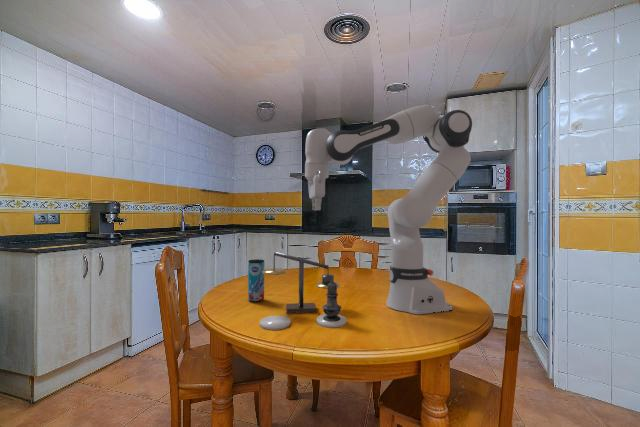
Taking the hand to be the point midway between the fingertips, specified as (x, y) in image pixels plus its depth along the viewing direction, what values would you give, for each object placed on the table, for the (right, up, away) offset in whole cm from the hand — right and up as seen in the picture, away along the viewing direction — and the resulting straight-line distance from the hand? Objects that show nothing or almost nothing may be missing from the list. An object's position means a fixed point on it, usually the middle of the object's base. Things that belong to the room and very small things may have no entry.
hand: (316, 210), depth 114 cm
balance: (-5, -34, -9) cm, 36 cm away
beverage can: (-23, -34, +1) cm, 41 cm away
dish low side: (+5, -34, -20) cm, 40 cm away
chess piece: (+5, -34, -20) cm, 39 cm away
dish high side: (-12, -34, -22) cm, 43 cm away
